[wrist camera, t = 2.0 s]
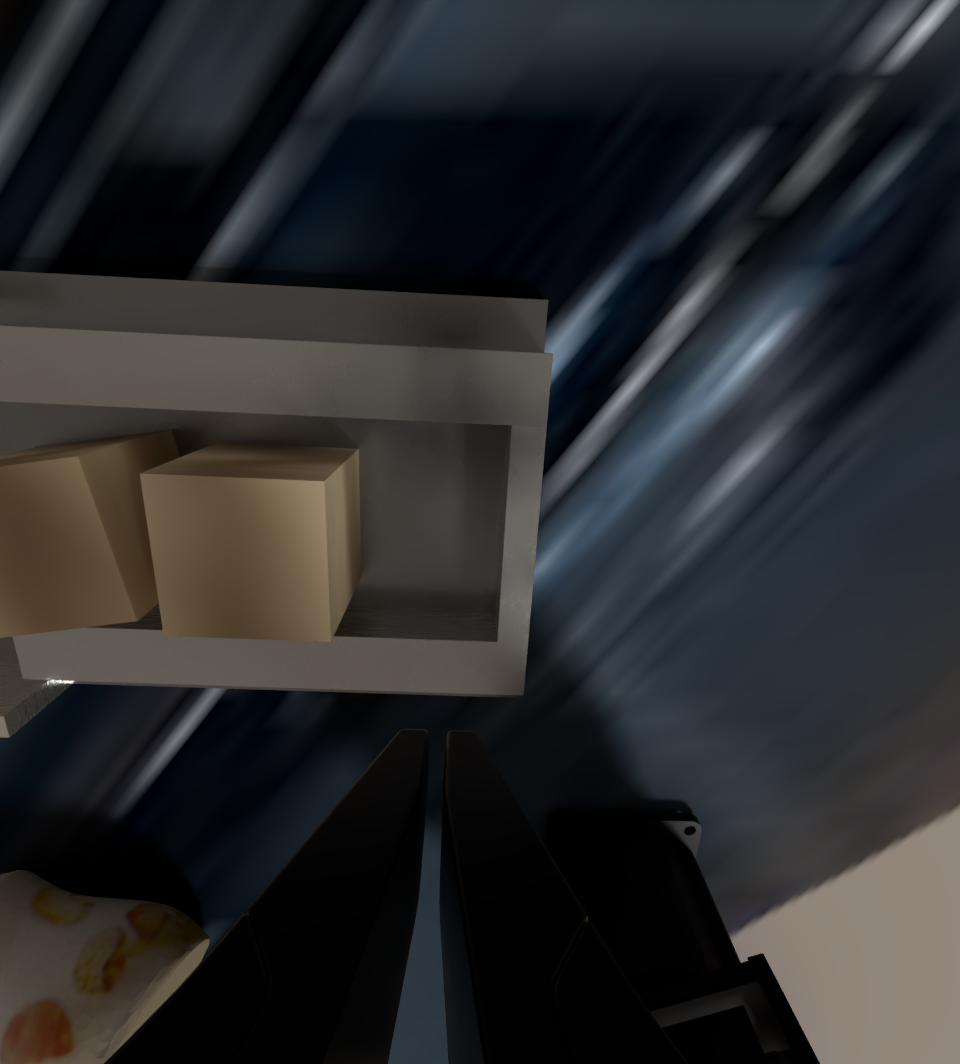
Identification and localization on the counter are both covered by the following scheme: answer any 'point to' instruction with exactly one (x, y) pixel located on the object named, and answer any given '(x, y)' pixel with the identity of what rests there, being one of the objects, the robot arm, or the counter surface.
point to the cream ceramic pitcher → (84, 969)
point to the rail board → (316, 421)
